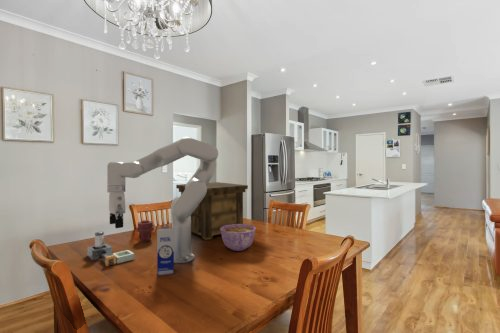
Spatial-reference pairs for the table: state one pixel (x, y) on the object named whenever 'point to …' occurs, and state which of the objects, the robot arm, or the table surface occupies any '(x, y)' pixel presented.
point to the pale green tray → (124, 256)
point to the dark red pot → (145, 230)
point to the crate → (217, 208)
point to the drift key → (108, 259)
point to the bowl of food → (237, 236)
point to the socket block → (94, 253)
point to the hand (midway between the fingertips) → (116, 225)
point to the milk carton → (165, 251)
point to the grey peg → (99, 242)
